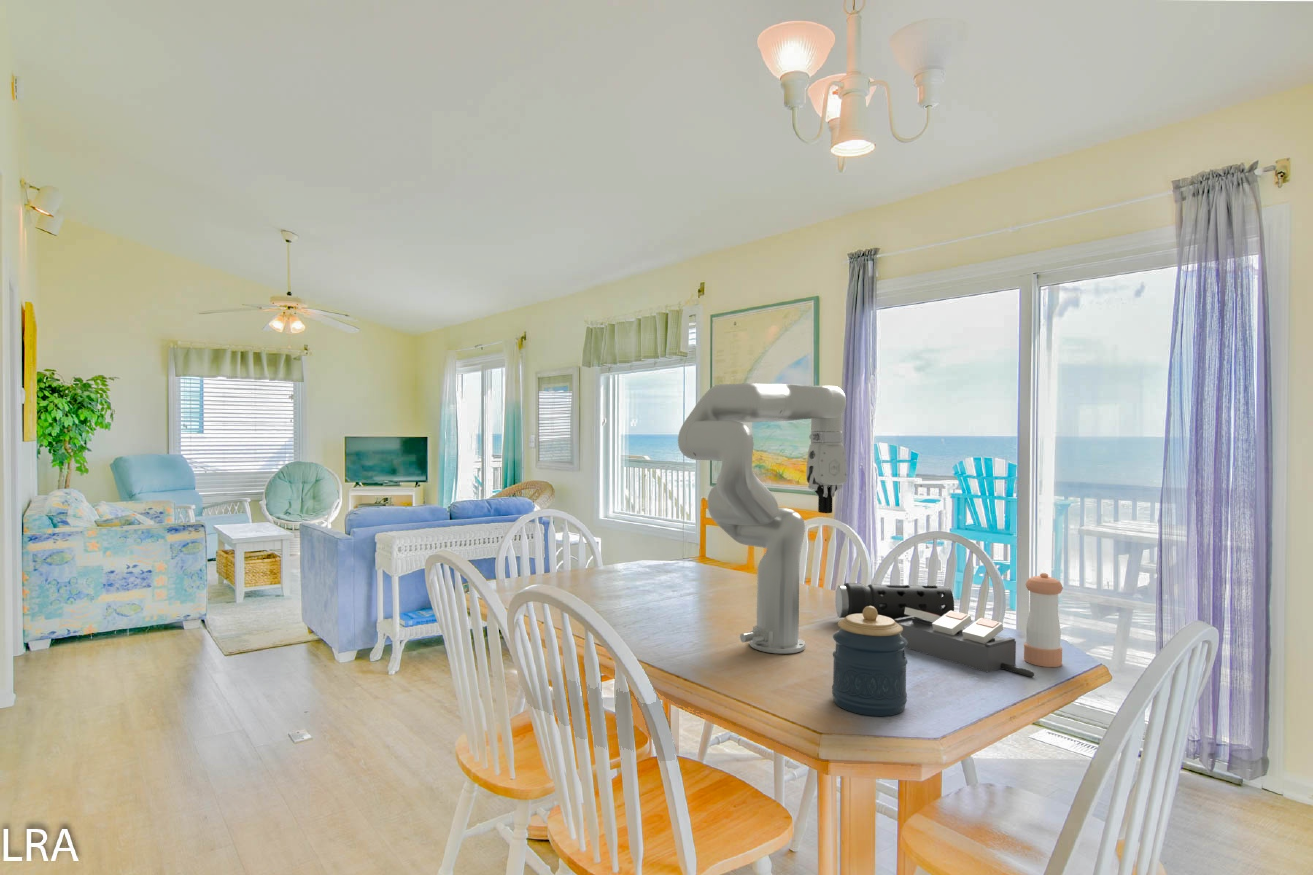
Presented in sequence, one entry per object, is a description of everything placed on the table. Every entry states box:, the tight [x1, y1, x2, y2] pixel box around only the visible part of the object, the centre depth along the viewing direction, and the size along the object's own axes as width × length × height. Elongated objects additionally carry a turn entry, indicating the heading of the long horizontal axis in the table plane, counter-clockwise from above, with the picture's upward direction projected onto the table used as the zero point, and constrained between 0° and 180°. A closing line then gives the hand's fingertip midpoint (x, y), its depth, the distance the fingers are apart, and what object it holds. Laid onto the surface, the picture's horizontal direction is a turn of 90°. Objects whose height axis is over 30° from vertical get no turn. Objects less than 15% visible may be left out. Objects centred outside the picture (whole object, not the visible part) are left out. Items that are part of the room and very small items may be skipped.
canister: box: [831, 606, 908, 717], centre depth 131 cm, size 13×13×18 cm
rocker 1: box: [904, 607, 941, 622], centre depth 169 cm, size 7×5×2 cm
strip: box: [894, 616, 1035, 678], centre depth 160 cm, size 10×31×6 cm, turn 33°
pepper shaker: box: [1023, 572, 1064, 668], centre depth 157 cm, size 7×7×19 cm
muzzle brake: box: [834, 582, 955, 620], centre depth 188 cm, size 10×28×10 cm, turn 89°
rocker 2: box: [932, 610, 972, 635], centre depth 163 cm, size 7×5×2 cm
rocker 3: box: [962, 617, 1004, 644], centre depth 156 cm, size 7×5×2 cm
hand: (825, 512), depth 181 cm, fingers closed
